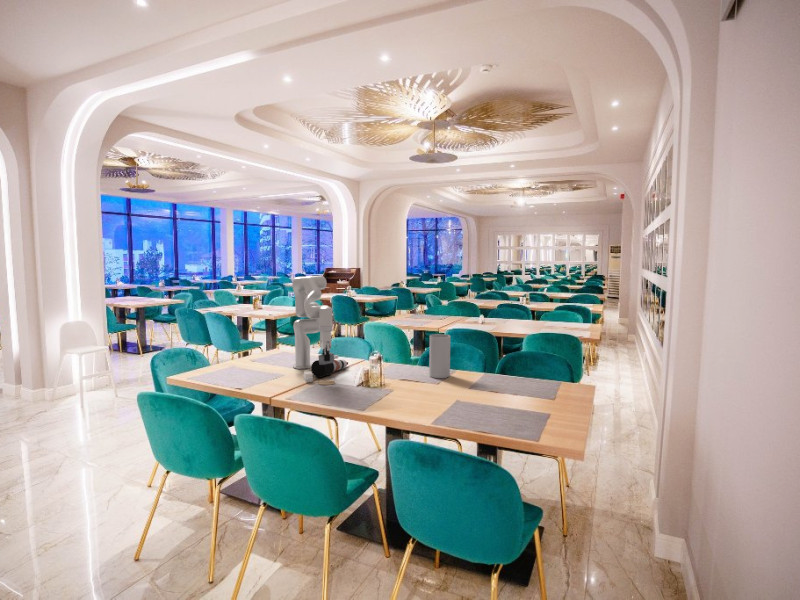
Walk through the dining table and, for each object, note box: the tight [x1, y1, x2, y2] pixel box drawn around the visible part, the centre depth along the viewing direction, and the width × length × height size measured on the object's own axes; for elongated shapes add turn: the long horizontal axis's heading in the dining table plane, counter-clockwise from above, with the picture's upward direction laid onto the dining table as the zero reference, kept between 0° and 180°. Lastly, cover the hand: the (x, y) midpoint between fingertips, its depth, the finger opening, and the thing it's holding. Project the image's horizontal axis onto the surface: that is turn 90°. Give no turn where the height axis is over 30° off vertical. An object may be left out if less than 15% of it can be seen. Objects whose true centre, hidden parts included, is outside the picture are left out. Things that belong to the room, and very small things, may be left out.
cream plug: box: [303, 369, 314, 383], centre depth 266 cm, size 11×4×5 cm, turn 21°
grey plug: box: [317, 352, 339, 365], centre depth 261 cm, size 11×4×5 cm, turn 112°
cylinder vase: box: [428, 333, 451, 379], centre depth 277 cm, size 12×12×25 cm
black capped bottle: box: [310, 359, 349, 378], centre depth 287 cm, size 10×34×10 cm, turn 156°
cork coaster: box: [317, 379, 336, 386], centre depth 262 cm, size 10×10×1 cm
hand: (326, 359), depth 261 cm, fingers closed on grey plug, 4 cm apart
